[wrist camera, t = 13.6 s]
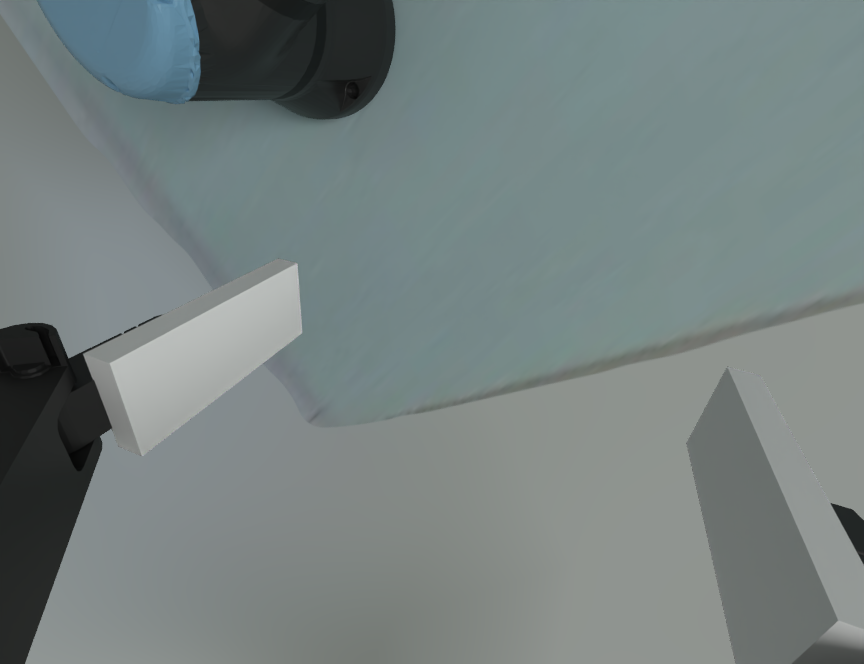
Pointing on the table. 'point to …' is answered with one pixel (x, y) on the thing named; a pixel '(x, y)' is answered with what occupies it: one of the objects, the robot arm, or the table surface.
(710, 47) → the table surface
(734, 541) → the robot arm
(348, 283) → the table surface
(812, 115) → the table surface
